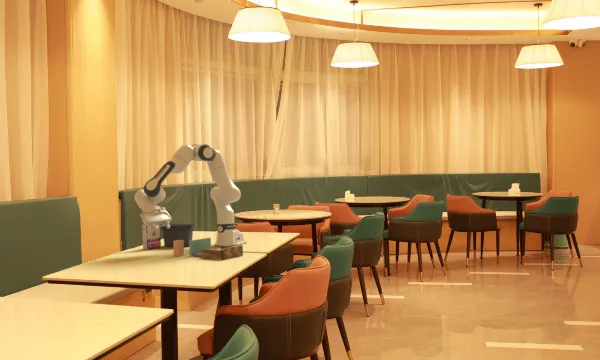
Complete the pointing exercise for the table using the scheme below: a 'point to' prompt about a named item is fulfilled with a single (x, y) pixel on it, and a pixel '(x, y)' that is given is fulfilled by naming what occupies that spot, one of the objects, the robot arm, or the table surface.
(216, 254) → the dock
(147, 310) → the table surface
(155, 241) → the candy bar box
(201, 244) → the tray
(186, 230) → the storage bin
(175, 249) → the terracotta block
